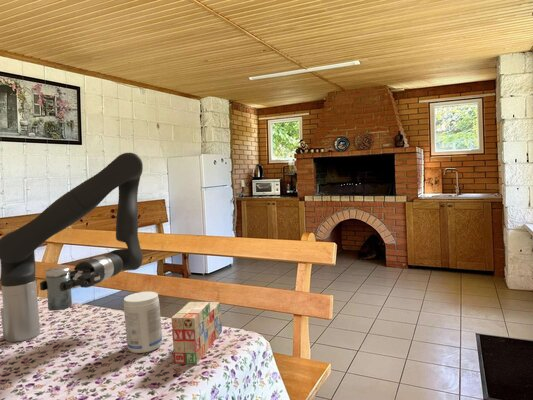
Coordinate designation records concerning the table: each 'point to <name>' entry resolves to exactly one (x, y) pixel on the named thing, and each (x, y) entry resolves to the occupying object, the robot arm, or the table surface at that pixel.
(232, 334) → the table surface
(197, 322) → the stack of blocks
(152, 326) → the supplement tub
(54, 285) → the tea tin
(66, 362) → the table surface
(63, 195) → the robot arm
